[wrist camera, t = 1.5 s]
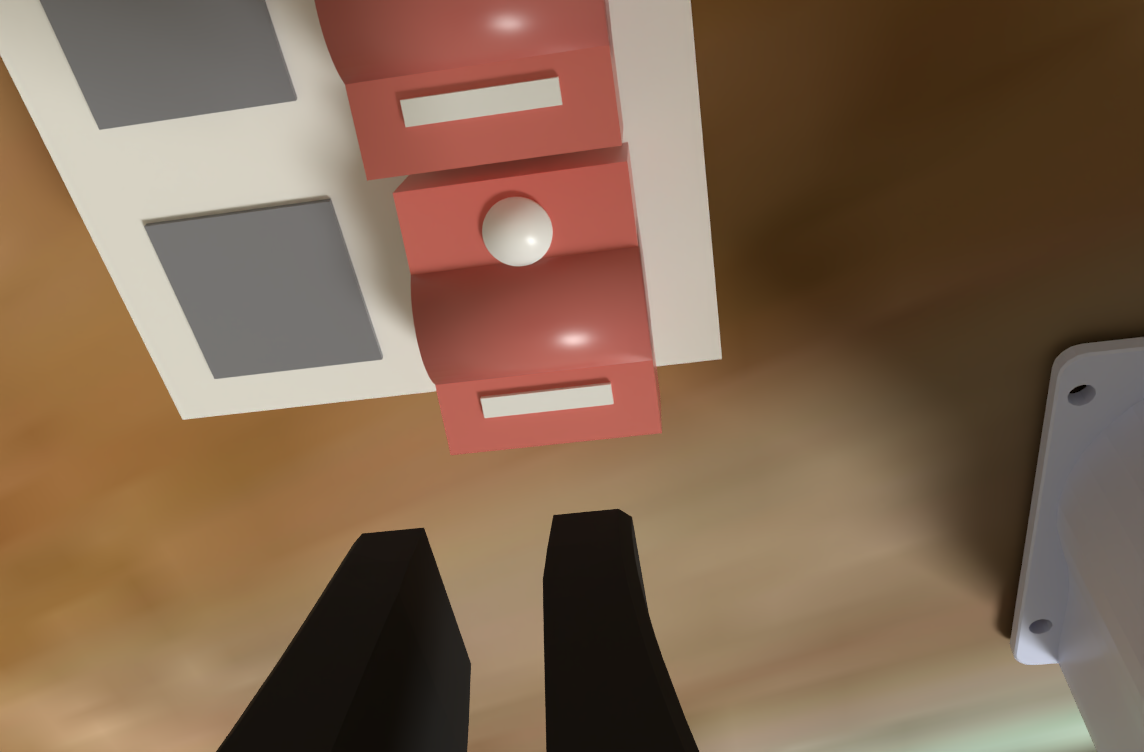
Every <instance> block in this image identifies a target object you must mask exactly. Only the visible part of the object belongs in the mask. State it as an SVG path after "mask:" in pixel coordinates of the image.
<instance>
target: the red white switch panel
mask: <svg viewBox="0 0 1144 752" xmlns="http://www.w3.org/2000/svg"><path fill="white" fill-rule="evenodd" d="M608 1H609V11H610V20H611V31H612V40H613V48H614V56H615V63H616V71H617V79H618V87H619V95H620V103H621V111H622V118H623V139H622V143H624V142H628V145H629V153H630V161H631V169H632V177H633V185H634V193H635V201H636V208H637V216H638V223H639V229H640V235H641V242H642V249H643V257H644V264H645V272H646V281H647V289H648V298H649V307H650V317H651V327H652V335H653V343H654V351H655V359H656V366H664V365H673V364H682V363H690V362H699V361H708V360H717V359H722V354H721V342H720V331H719V319H718V308H717V296H716V285H715V274H714V262H713V251H712V239H711V228H710V216H709V205H708V194H707V182H706V171H705V159H704V148H703V136H702V125H701V114H700V102H699V91H698V79H697V68H696V56H695V45H694V34H693V22H692V11H691V0H608ZM0 55H1V57H2V59H3V61H4V63H5V65H6V67H7V69H8V71H9V73H10V75H11V77H12V79H13V81H14V83H15V85H16V87H17V89H18V91H19V93H20V95H21V97H22V99H23V101H24V103H25V105H26V107H27V109H28V111H29V113H30V115H31V117H32V119H33V121H34V123H35V125H36V127H37V129H38V131H39V133H40V135H41V137H42V139H43V141H44V143H45V145H46V147H47V149H48V151H49V153H50V155H51V157H52V159H53V161H54V163H55V165H56V167H57V169H58V171H59V173H60V175H61V177H62V179H63V181H64V183H65V185H66V187H67V189H68V191H69V193H70V195H71V197H72V199H73V201H74V203H75V205H76V207H77V209H78V211H79V213H80V215H81V217H82V219H83V221H84V223H85V225H86V227H87V229H88V231H89V233H90V235H91V237H92V239H93V241H94V243H95V245H96V247H97V249H98V251H99V253H100V255H101V257H102V259H103V261H104V263H105V265H106V267H107V269H108V271H109V273H110V275H111V277H112V279H113V281H114V283H115V285H116V287H117V289H118V291H119V293H120V295H121V297H122V299H123V301H124V303H125V305H126V307H127V309H128V311H129V313H130V315H131V317H132V319H133V321H134V323H135V325H136V327H137V329H138V331H139V333H140V335H141V337H142V339H143V341H144V343H145V345H146V347H147V349H148V351H149V353H150V355H151V357H152V359H153V361H154V363H155V365H156V367H157V369H158V371H159V373H160V375H161V377H162V379H163V381H164V383H165V385H166V387H167V389H168V391H169V393H170V395H171V397H172V399H173V401H174V403H175V405H176V407H177V409H178V411H179V413H180V415H181V417H182V419H183V420H184V419H193V418H201V417H210V416H219V415H228V414H237V413H246V412H255V411H264V410H273V409H281V408H290V407H299V406H308V405H317V404H326V403H335V402H344V401H353V400H361V399H370V398H379V397H388V396H397V395H406V394H415V393H424V392H433V391H436V386H435V384H434V383H433V382H432V381H431V379H430V378H429V376H428V374H427V372H426V369H425V367H424V364H423V361H422V358H421V354H420V351H419V347H418V343H417V338H416V333H415V327H414V321H413V314H412V304H411V274H410V269H409V265H408V260H407V256H406V251H405V247H404V242H403V238H402V233H401V229H400V224H399V220H398V215H397V211H396V206H395V202H394V197H393V192H394V191H395V190H396V189H397V188H398V187H399V185H400V184H401V183H402V182H403V181H404V180H405V179H406V178H407V177H408V175H404V176H397V177H390V178H382V179H375V180H368V181H367V178H366V174H365V169H364V165H363V161H362V156H361V152H360V148H359V143H358V139H357V135H356V130H355V126H354V122H353V118H352V113H351V109H350V105H349V100H348V96H347V92H346V87H345V84H344V82H343V81H342V79H341V78H340V76H339V74H338V72H337V70H336V68H335V66H334V63H333V61H332V59H331V56H330V54H329V51H328V48H327V45H326V43H325V40H324V36H323V33H322V30H321V26H320V22H319V18H318V15H317V10H316V6H315V1H314V0H0Z"/></svg>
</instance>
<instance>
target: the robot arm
mask: <svg viewBox="0 0 1144 752" xmlns="http://www.w3.org/2000/svg"><path fill="white" fill-rule="evenodd" d="M1080 385H1086V387H1085V388H1084V389H1082V390H1081V391H1079V392H1076V393H1073V394H1072V393H1070V391H1071V390H1073V389H1074V388H1075V387H1077V386H1080ZM543 611H544V662H545V706H546V750H547V752H699V750H698V747H697V745H696V743H695V740H694V738H693V735H692V733H691V731H690V728H689V726H688V724H687V721H686V719H685V716H684V713H683V711H682V708H681V705H680V703H679V700H678V697H677V695H676V692H675V689H674V687H673V684H672V682H671V679H670V676H669V674H668V671H667V668H666V666H665V663H664V660H663V658H662V655H661V652H660V649H659V646H658V643H657V640H656V637H655V634H654V631H653V627H652V624H651V620H650V617H649V613H648V607H647V602H646V596H645V590H644V584H643V578H642V573H641V567H640V561H639V555H638V549H637V544H636V538H635V532H634V526H633V520H632V517H631V516H629V515H628V514H626V513H624V512H623V511H621V510H620V509H612V510H602V511H591V512H581V513H571V514H561V515H553V521H552V526H551V531H550V537H549V542H548V548H547V555H546V562H545V569H544V576H543ZM1010 647H1011V650H1012V653H1013V655H1014V658H1015V659H1016V660H1017V661H1018V662H1020V663H1023V664H1026V665H1039V664H1052V663H1059V665H1060V667H1061V669H1062V672H1063V674H1064V676H1065V679H1066V681H1067V683H1068V686H1069V688H1070V690H1071V693H1072V695H1073V697H1074V699H1075V702H1076V704H1077V706H1078V709H1079V711H1080V713H1081V716H1082V718H1083V720H1084V723H1085V725H1086V727H1087V730H1088V732H1089V734H1090V736H1091V739H1092V741H1093V743H1094V746H1095V748H1096V750H1097V752H1144V337H1138V338H1129V339H1120V340H1111V341H1102V342H1093V343H1083V344H1079V345H1075V346H1071V347H1070V348H1068V349H1066V350H1064V351H1063V352H1061V354H1060V355H1059V356H1058V357H1057V358H1056V359H1055V361H1054V363H1053V366H1052V370H1051V377H1050V383H1049V390H1048V396H1047V403H1046V410H1045V416H1044V423H1043V429H1042V436H1041V442H1040V449H1039V456H1038V462H1037V469H1036V475H1035V482H1034V488H1033V495H1032V502H1031V508H1030V515H1029V521H1028V528H1027V534H1026V541H1025V547H1024V554H1023V561H1022V567H1021V574H1020V580H1019V587H1018V593H1017V600H1016V607H1015V613H1014V620H1013V626H1012V633H1011V639H1010ZM470 674H471V663H470V660H469V657H468V654H467V651H466V648H465V645H464V642H463V639H462V637H461V634H460V631H459V628H458V625H457V622H456V619H455V616H454V613H453V610H452V608H451V605H450V602H449V599H448V596H447V593H446V590H445V587H444V584H443V582H442V579H441V576H440V573H439V570H438V567H437V564H436V561H435V558H434V556H433V553H432V550H431V547H430V544H429V541H428V538H427V535H426V532H425V529H424V528H416V529H406V530H395V531H385V532H375V533H364V534H362V535H361V536H360V537H359V538H358V539H357V540H356V542H355V543H354V544H353V546H352V547H351V549H350V550H349V552H348V554H347V555H346V557H345V558H344V560H343V561H342V563H341V565H340V566H339V568H338V569H337V571H336V573H335V574H334V576H333V577H332V579H331V580H330V582H329V584H328V585H327V587H326V588H325V590H324V592H323V593H322V595H321V596H320V598H319V599H318V601H317V603H316V604H315V606H314V607H313V609H312V610H311V612H310V614H309V615H308V617H307V618H306V620H305V621H304V623H303V624H302V626H301V628H300V629H299V631H298V632H297V634H296V635H295V637H294V638H293V640H292V641H291V643H290V644H289V646H288V647H287V649H286V651H285V652H284V654H283V655H282V657H281V658H280V660H279V661H278V663H277V664H276V666H275V667H274V669H273V670H272V672H271V673H270V674H269V676H268V677H267V679H266V680H265V682H264V683H263V685H262V686H261V688H260V689H259V691H258V692H257V693H256V695H255V696H254V698H253V699H252V701H251V702H250V704H249V705H248V707H247V708H246V710H245V711H244V712H243V714H242V715H241V717H240V718H239V720H238V721H237V723H236V724H235V726H234V727H233V729H232V730H231V731H230V733H229V734H228V736H227V737H226V739H225V740H224V741H223V743H222V744H221V746H220V747H219V748H218V750H217V751H216V752H467V743H468V725H469V701H470Z"/></svg>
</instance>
